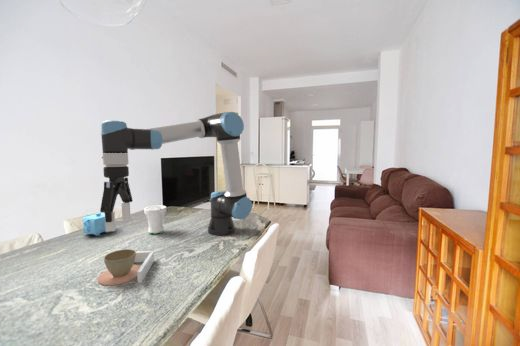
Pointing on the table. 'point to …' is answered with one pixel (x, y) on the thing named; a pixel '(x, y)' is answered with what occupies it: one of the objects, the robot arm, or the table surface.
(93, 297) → the table surface
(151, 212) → the cup
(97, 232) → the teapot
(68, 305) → the table surface
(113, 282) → the coaster
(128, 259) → the flower pot
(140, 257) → the acrylic walls
